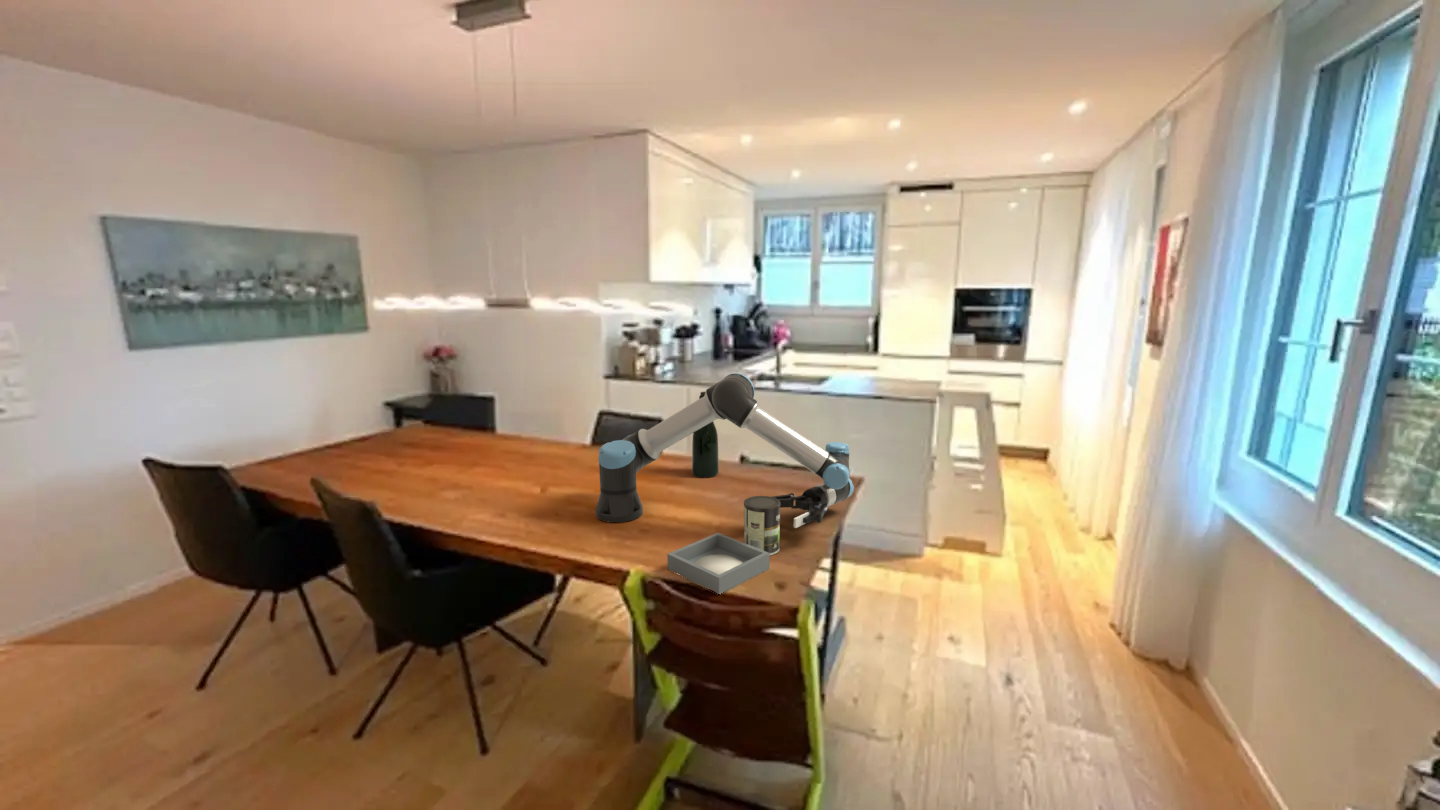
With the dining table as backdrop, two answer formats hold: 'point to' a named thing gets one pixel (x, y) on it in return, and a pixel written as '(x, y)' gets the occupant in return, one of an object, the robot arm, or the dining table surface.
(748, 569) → the walled box
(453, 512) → the dining table surface
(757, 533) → the coffee can
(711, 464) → the beer bottle
